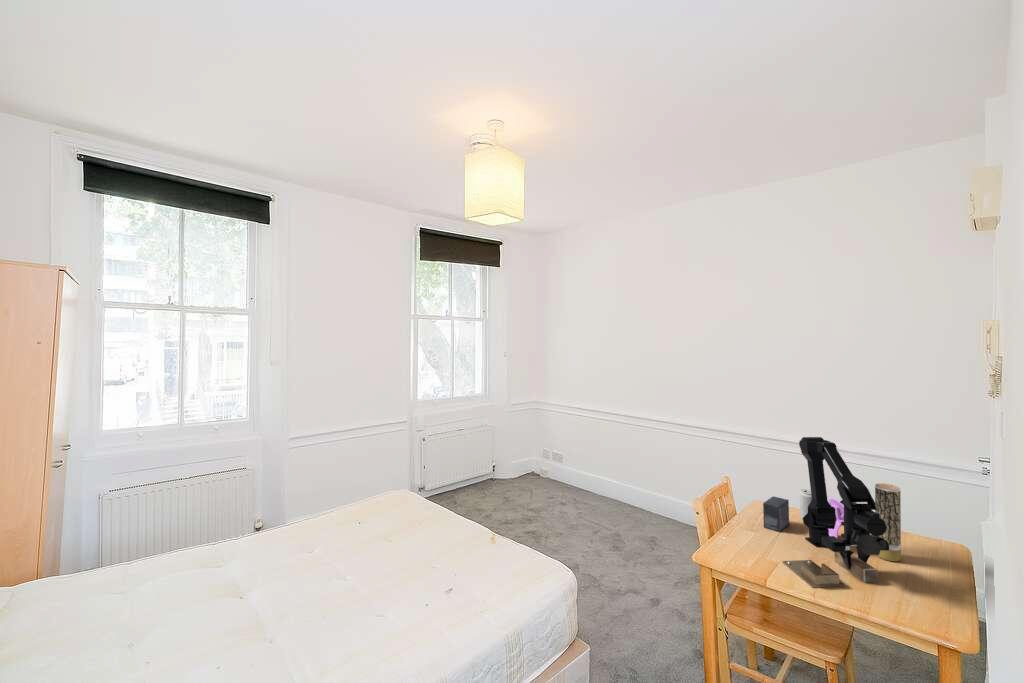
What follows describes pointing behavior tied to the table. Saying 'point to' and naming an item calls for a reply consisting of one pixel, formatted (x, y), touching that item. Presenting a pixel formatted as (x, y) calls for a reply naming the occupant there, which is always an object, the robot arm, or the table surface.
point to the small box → (776, 513)
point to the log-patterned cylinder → (890, 519)
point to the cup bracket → (814, 573)
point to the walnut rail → (859, 568)
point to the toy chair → (837, 516)
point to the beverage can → (804, 501)
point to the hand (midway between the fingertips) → (855, 568)
